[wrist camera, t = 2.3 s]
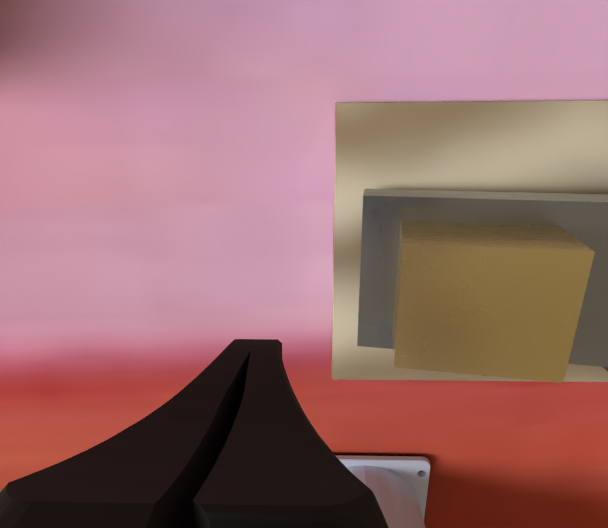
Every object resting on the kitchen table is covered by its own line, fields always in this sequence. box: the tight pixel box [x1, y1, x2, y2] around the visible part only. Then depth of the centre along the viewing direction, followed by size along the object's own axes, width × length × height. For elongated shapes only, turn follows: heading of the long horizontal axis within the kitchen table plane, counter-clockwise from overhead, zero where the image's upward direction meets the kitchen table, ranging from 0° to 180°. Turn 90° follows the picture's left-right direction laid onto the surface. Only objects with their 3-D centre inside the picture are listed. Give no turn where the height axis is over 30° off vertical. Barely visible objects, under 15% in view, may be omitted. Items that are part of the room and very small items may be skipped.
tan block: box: [393, 221, 595, 383], centre depth 17 cm, size 5×6×3 cm
